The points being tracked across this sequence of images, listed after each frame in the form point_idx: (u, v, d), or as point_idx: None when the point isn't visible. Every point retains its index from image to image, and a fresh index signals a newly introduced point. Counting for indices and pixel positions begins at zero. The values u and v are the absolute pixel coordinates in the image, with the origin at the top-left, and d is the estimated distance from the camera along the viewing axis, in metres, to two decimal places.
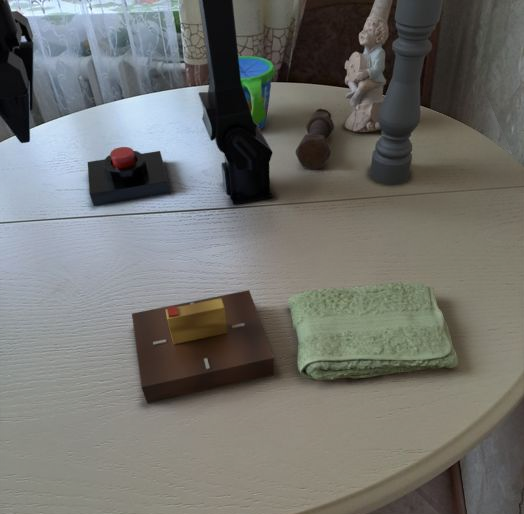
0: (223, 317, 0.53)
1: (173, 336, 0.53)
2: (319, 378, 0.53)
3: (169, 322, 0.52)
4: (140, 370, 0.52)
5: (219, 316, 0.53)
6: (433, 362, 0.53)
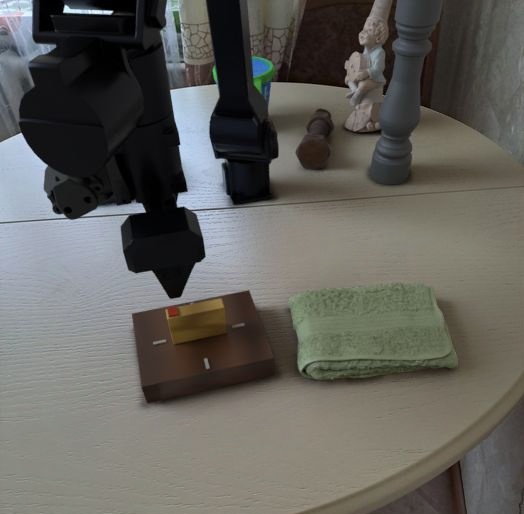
0: (223, 317, 0.53)
1: (173, 336, 0.53)
2: (319, 378, 0.53)
3: (169, 322, 0.52)
4: (140, 370, 0.52)
5: (219, 316, 0.53)
6: (433, 362, 0.53)
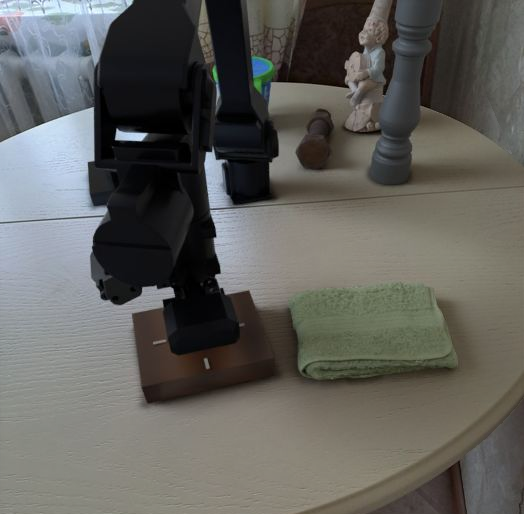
0: None
1: None
2: (319, 378, 0.53)
3: None
4: (140, 370, 0.52)
5: None
6: (433, 362, 0.53)
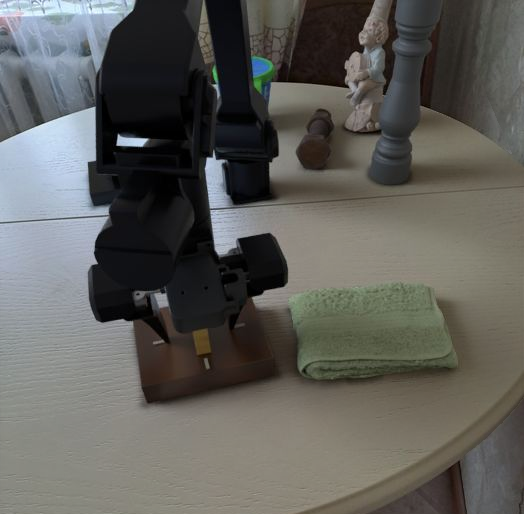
0: None
1: (209, 343, 0.52)
2: (319, 378, 0.53)
3: (207, 329, 0.51)
4: (140, 370, 0.52)
5: None
6: (433, 362, 0.53)
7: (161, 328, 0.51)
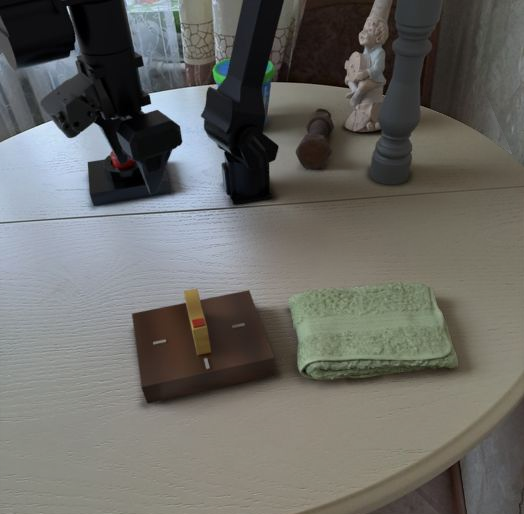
0: None
1: (209, 343, 0.52)
2: (319, 378, 0.53)
3: (207, 329, 0.51)
4: (140, 370, 0.52)
5: None
6: (433, 362, 0.53)
7: (109, 143, 0.66)
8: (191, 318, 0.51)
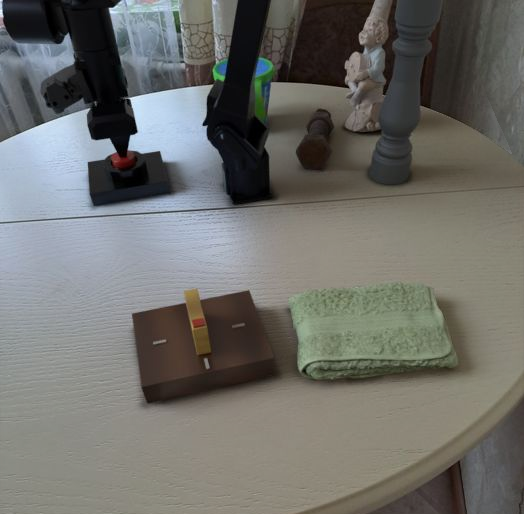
0: None
1: (209, 343, 0.52)
2: (319, 378, 0.53)
3: (207, 329, 0.51)
4: (140, 370, 0.52)
5: None
6: (433, 362, 0.53)
7: None
8: (191, 318, 0.51)
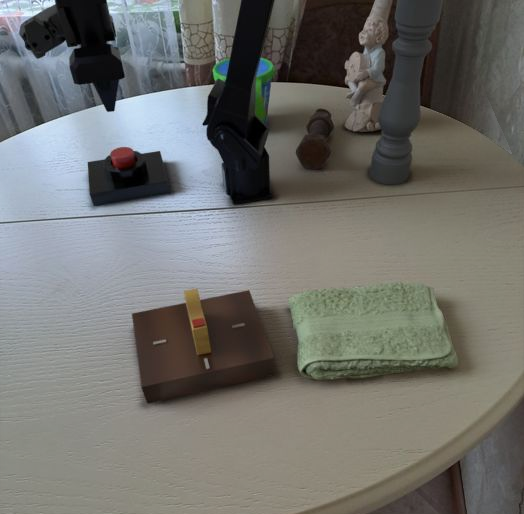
0: None
1: (209, 343, 0.52)
2: (319, 378, 0.53)
3: (207, 329, 0.51)
4: (140, 370, 0.52)
5: None
6: (433, 362, 0.53)
7: None
8: (191, 318, 0.51)
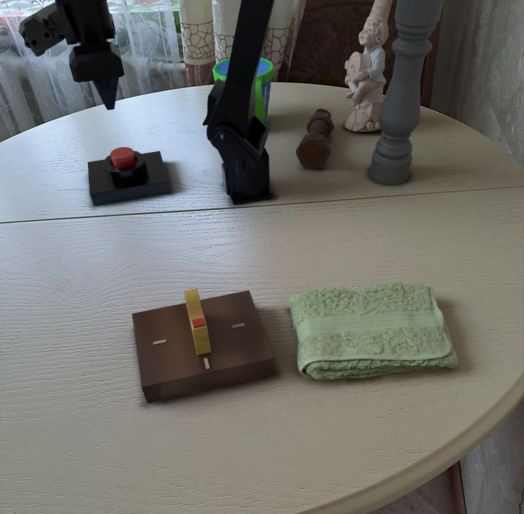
0: None
1: (209, 343, 0.52)
2: (319, 378, 0.53)
3: (207, 329, 0.51)
4: (140, 370, 0.52)
5: None
6: (433, 362, 0.53)
7: None
8: (191, 318, 0.51)
